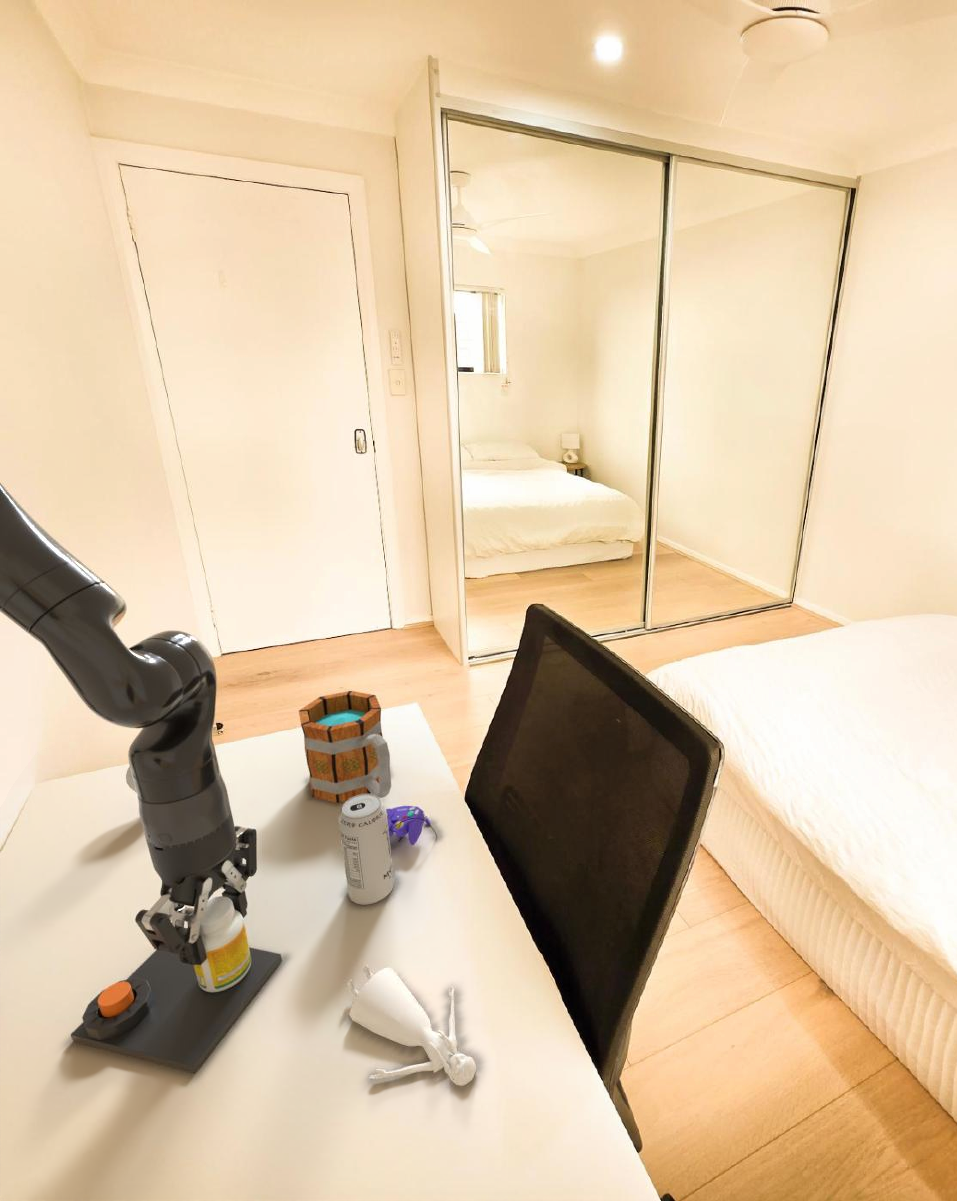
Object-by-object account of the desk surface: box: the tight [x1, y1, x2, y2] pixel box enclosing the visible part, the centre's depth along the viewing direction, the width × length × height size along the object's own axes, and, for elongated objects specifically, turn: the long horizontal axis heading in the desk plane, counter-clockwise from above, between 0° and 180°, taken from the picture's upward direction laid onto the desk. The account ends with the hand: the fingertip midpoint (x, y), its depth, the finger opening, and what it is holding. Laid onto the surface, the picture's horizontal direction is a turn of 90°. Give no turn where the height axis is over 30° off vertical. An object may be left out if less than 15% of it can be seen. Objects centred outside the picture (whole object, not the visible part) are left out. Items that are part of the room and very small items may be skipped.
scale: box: [70, 947, 283, 1074], centre depth 67 cm, size 15×13×4 cm
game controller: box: [386, 805, 438, 846], centre depth 92 cm, size 10×8×10 cm
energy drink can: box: [337, 793, 395, 906], centre depth 81 cm, size 6×6×15 cm
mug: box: [298, 690, 392, 804], centre depth 102 cm, size 20×14×15 cm
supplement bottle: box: [194, 895, 251, 992], centre depth 68 cm, size 5×5×10 cm
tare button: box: [98, 981, 134, 1018], centre depth 64 cm, size 3×3×2 cm
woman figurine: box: [346, 964, 477, 1087], centre depth 65 cm, size 12×4×18 cm
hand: (217, 937), depth 68 cm, fingers closed on supplement bottle, 5 cm apart
